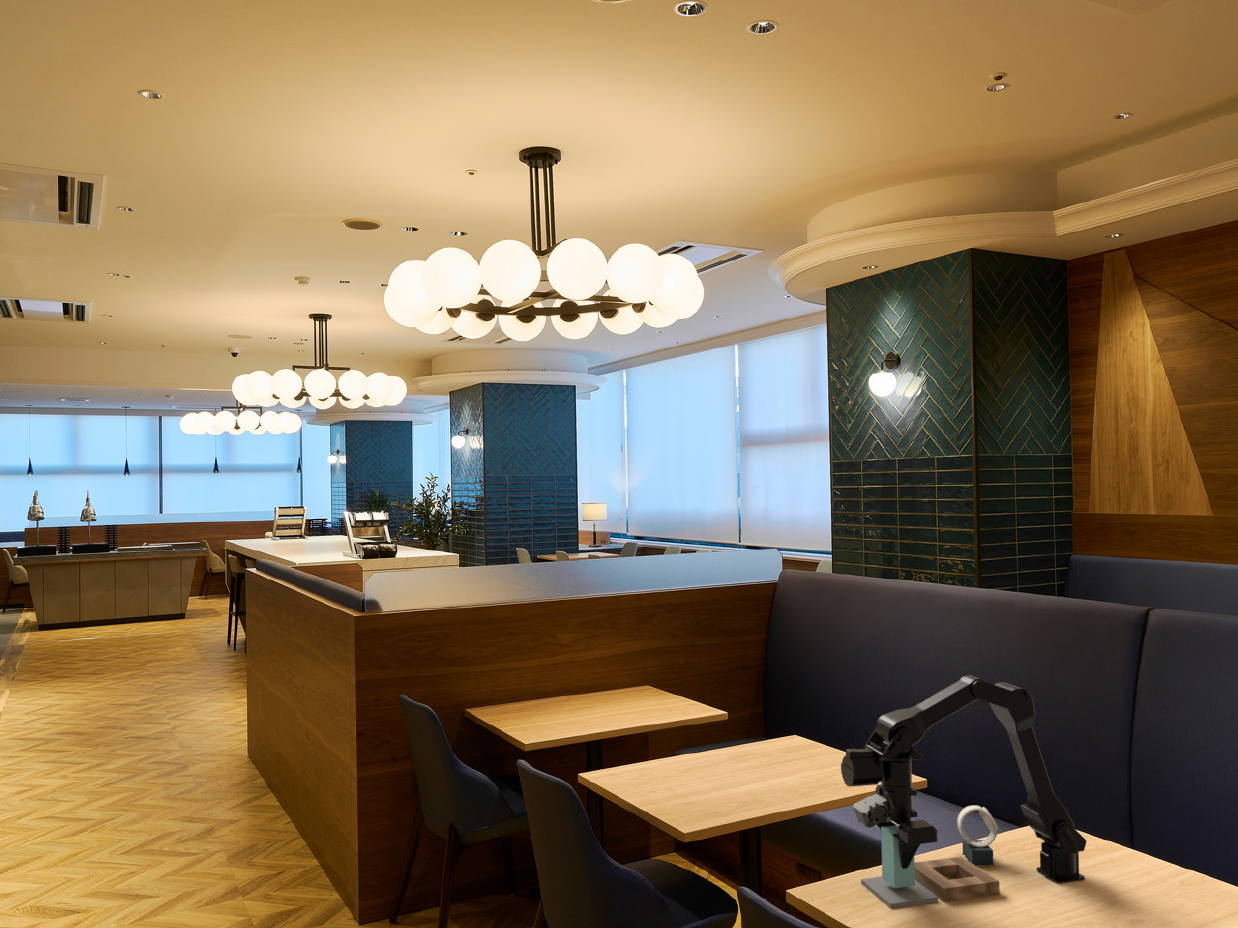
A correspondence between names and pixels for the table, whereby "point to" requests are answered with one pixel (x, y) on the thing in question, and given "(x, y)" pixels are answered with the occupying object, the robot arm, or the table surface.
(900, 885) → the peg
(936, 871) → the pocket
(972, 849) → the watch
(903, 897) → the pad
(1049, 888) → the table surface
